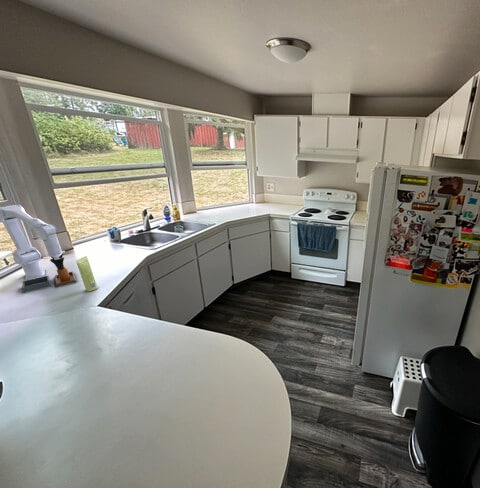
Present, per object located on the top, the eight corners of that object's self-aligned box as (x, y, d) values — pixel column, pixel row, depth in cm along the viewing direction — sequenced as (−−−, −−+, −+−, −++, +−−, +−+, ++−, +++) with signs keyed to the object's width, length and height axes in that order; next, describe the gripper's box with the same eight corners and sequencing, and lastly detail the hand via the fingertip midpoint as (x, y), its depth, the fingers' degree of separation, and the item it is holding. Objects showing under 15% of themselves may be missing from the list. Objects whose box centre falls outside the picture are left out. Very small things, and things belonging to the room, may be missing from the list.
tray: (55, 278, 154) (54, 275, 153) (74, 274, 159) (73, 271, 159) (57, 287, 144) (55, 284, 143) (76, 282, 150) (75, 279, 149)
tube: (85, 289, 143) (74, 257, 136) (96, 285, 147) (86, 255, 140) (87, 292, 140) (75, 260, 133) (98, 289, 143) (88, 258, 136)
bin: (24, 286, 144) (22, 281, 143) (50, 280, 151) (48, 275, 150) (24, 293, 137) (21, 287, 136) (51, 286, 145) (48, 281, 143)
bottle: (60, 279, 151) (54, 264, 148) (70, 277, 154) (64, 262, 151) (60, 282, 149) (54, 266, 145) (71, 279, 152) (65, 264, 148)
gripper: (63, 247, 142) (71, 268, 147) (61, 241, 151) (69, 261, 156) (45, 250, 137) (53, 272, 142) (44, 243, 146) (52, 264, 151)
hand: (60, 267), depth 149 cm, fingers open, 7 cm apart
